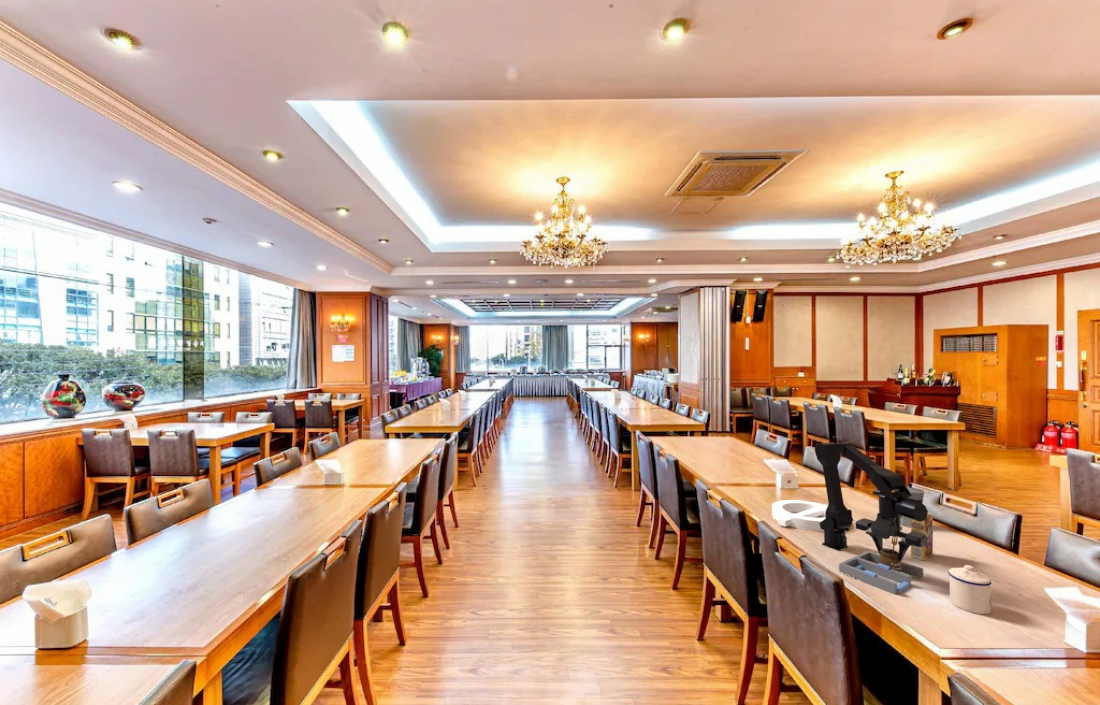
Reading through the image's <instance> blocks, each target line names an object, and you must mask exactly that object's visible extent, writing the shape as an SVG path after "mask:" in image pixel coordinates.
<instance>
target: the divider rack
mask: <svg viewBox="0 0 1100 705" xmlns="http://www.w3.org/2000/svg"><path fill="white" fill-rule="evenodd" d="M879 556H880V554H879V552H878V553H877V552H874V551H872V550H867V551H864V552H862V553H860V554H857V555H856V556H853V557H850V558H849V559H846V560H845V561H843V562H840V563H838V572H839V571H840V572H842V573H844V574H847V575H849V576H851V577H850V578H852V577H854V578H856V579H855V580H857V579H859V580H861V581H860V582H862V581H863V582H862V583H864V582H865V584H867V583H868V585H870V586H872V587H875V588H877V589H880V590H883V591H886V592H888V593H890V594H893V595H897V594H899V592H900V593H902V592H903V591H904V589H905V590H906V589H908V588H909V587H910V586H911V585H912V583H911V582H912V581H911V579H912V578H911V577H915V578H917V579H920V580H922V579H923V578H924V568H922V567H920V566H916V565H914V564H911V563H908V562H904V561H901V572H899V571H896V570H893V569H890V566H887V565H884V564H881V563H879ZM844 574H843V575H844ZM908 574H909V575H908ZM911 575H912V576H911ZM849 576H848V577H849ZM854 578H853V579H854ZM859 580H858V581H859ZM892 580H893V581H892Z"/></svg>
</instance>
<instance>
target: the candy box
mask: <svg viewBox="0 0 1100 705" xmlns="http://www.w3.org/2000/svg"><path fill="white" fill-rule="evenodd" d="M933 518H934V516H933V514H932V513H931V512H928V515H927V517H926V519H925V520H924V521H922V522H919V521H916V520H913V519H911V529H910V532H916V533H920V534H923V535H925V536H926V537H927V540H928V544H926V545H924V546H922V547H916V546H913V545H911V546H910V557H911V558H913V557H914V559H916V558H917V560H919V559H920V560H921V561H925V560H927V559H928V558H930V557H932V556H933V553H934V552H933V551H934V550H933V546H934V544H933V542H934V541H933V540H934V539H933V538H934V537H933V536H934V535H933V534H934V530H933V529H934V527H933V525H934V524H933V522H934V520H933ZM920 560H919V561H920Z"/></svg>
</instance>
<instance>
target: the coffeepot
mask: <svg viewBox="0 0 1100 705" xmlns="http://www.w3.org/2000/svg"><path fill="white" fill-rule="evenodd" d="M907 485H908V486H906V487H907V489H908V490H909V492H910V493H911V495H912V498H915V499H921V500H922V504H924V503H923V502H924V497H925V491H924V489H920V488H916V487H913V483H910V482H907ZM894 492H900V491H894ZM900 526H902V527H907V528H911V519H910V518H907V517H904V516H902V518H900Z"/></svg>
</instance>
